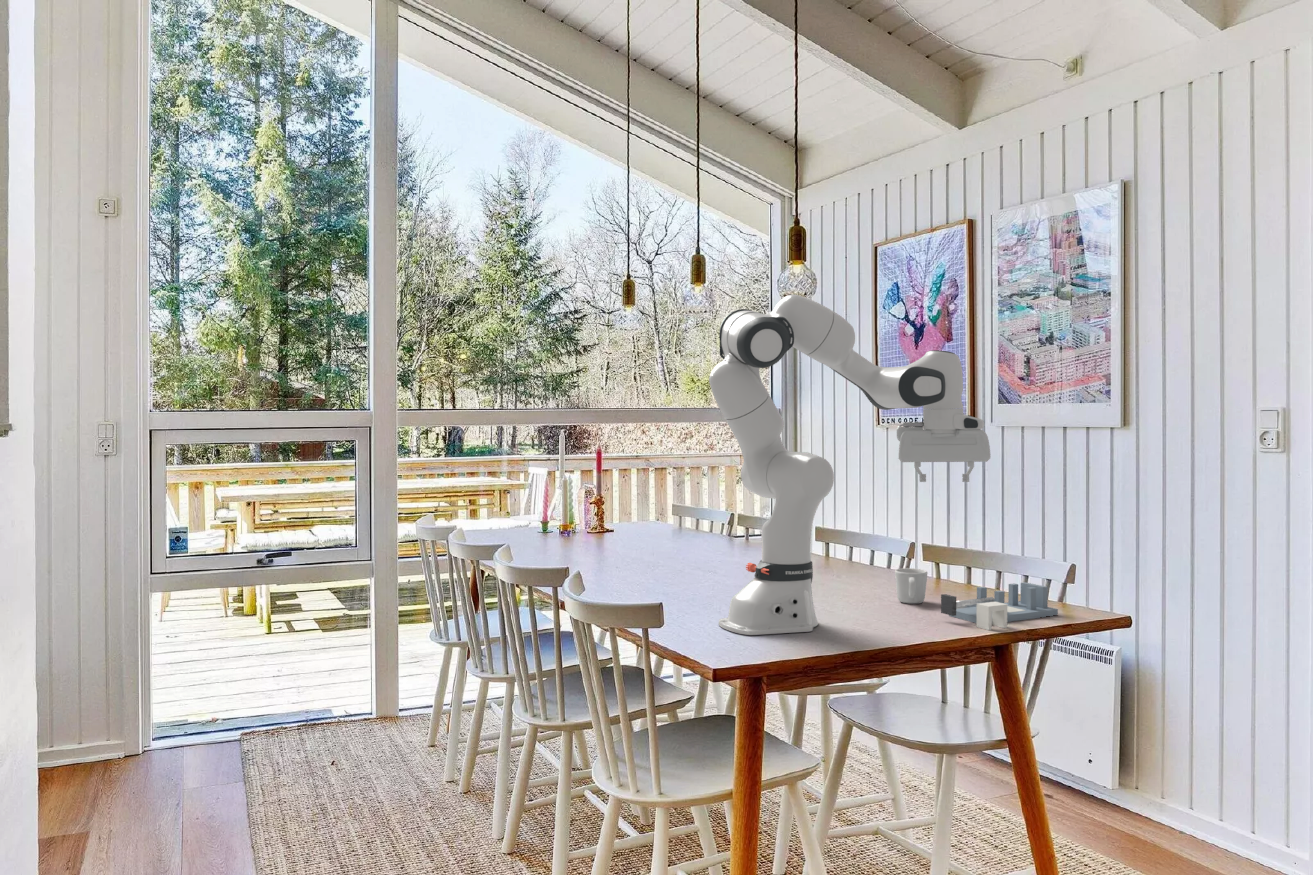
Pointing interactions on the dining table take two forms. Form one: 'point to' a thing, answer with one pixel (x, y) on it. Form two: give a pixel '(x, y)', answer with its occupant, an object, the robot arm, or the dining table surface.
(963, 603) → the shaft
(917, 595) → the cup
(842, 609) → the dining table surface
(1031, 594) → the block
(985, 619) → the bracket
